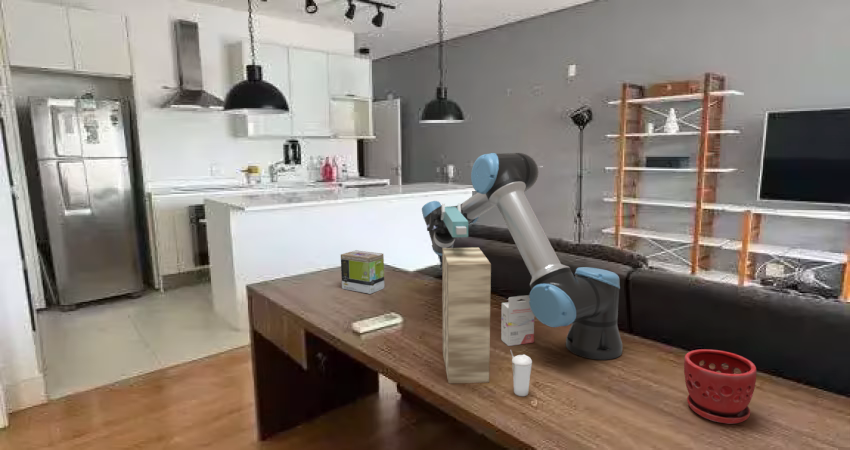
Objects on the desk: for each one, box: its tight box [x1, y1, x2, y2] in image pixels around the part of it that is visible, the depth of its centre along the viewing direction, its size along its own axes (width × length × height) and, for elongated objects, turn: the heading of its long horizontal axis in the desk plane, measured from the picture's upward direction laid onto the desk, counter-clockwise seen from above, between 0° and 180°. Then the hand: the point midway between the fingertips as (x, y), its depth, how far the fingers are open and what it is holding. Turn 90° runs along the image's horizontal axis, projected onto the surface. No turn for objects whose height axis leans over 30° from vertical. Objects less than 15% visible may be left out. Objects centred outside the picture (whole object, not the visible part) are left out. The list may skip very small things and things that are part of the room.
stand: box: [441, 247, 492, 384], centre depth 122 cm, size 18×10×30 cm, turn 3°
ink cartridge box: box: [500, 294, 535, 347], centre depth 139 cm, size 9×5×15 cm, turn 105°
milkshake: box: [510, 349, 533, 397], centre depth 111 cm, size 4×5×10 cm
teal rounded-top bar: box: [443, 205, 469, 238], centre depth 133 cm, size 33×4×4 cm, turn 3°
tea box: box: [340, 249, 385, 295], centre depth 192 cm, size 15×10×15 cm, turn 58°
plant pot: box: [683, 348, 757, 425], centre depth 102 cm, size 13×13×12 cm
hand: (451, 207), depth 140 cm, fingers closed on teal rounded-top bar, 4 cm apart
